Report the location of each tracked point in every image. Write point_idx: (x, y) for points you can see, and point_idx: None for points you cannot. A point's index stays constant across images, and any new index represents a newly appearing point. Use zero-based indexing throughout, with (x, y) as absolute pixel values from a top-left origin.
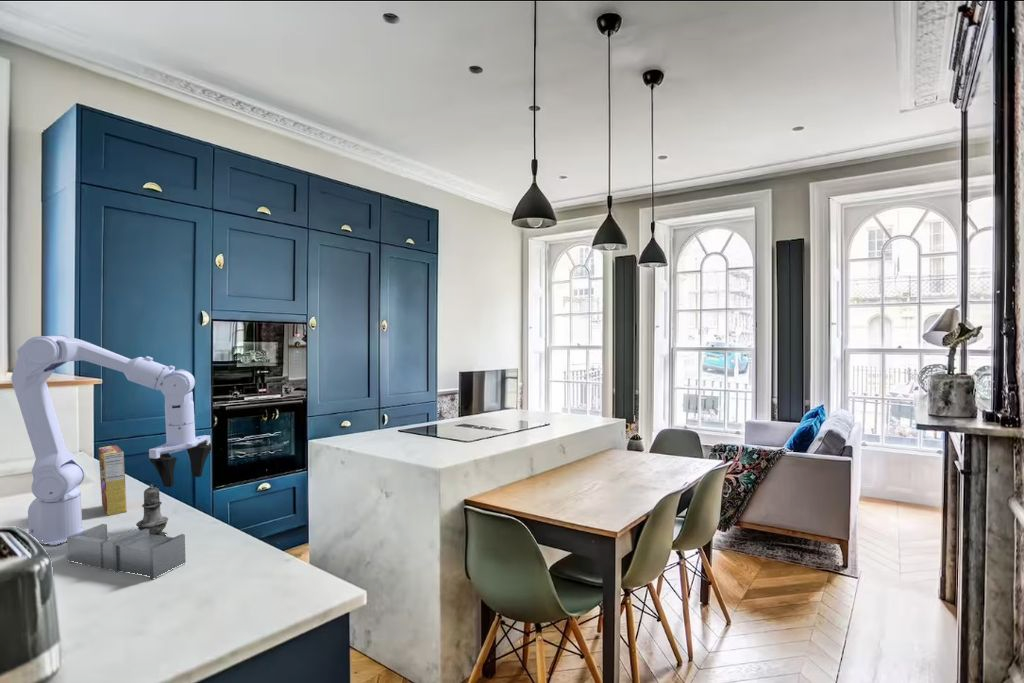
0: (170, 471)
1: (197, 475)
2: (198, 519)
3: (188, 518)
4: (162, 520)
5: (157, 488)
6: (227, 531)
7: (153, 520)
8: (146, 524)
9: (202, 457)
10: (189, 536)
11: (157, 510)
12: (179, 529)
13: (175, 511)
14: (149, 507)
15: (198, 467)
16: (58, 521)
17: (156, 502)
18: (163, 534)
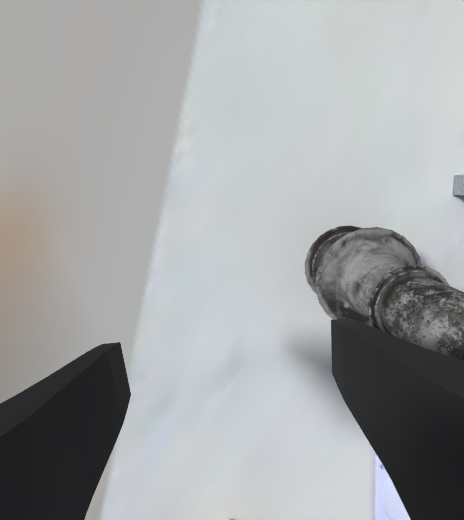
0: (447, 359)
1: (119, 363)
2: (174, 274)
3: (183, 313)
4: (360, 244)
5: (451, 324)
6: (208, 62)
7: (394, 256)
8: (410, 262)
9: (4, 430)
10: (295, 158)
11: (395, 265)
12: (264, 250)
13: (160, 405)
14: (444, 278)
15: (88, 395)
16: None
17: (421, 279)
18: (330, 241)
